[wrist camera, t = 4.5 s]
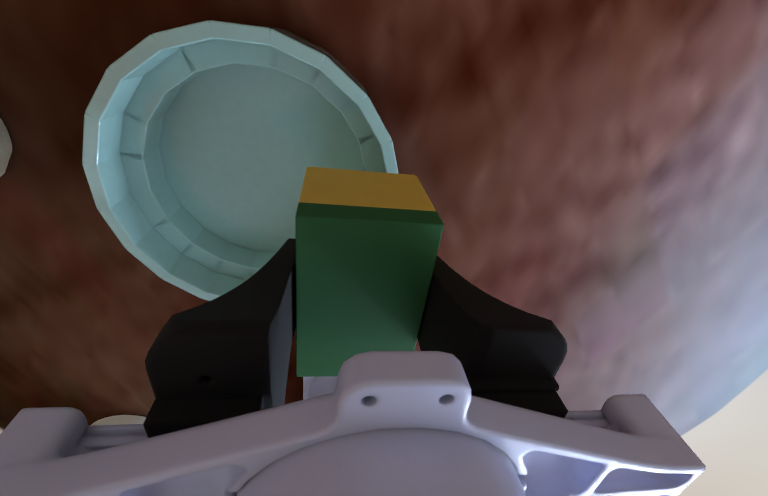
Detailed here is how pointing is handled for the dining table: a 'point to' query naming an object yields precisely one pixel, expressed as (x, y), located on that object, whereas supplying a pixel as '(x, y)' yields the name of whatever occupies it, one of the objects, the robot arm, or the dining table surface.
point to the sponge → (360, 265)
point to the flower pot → (4, 147)
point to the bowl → (221, 146)
